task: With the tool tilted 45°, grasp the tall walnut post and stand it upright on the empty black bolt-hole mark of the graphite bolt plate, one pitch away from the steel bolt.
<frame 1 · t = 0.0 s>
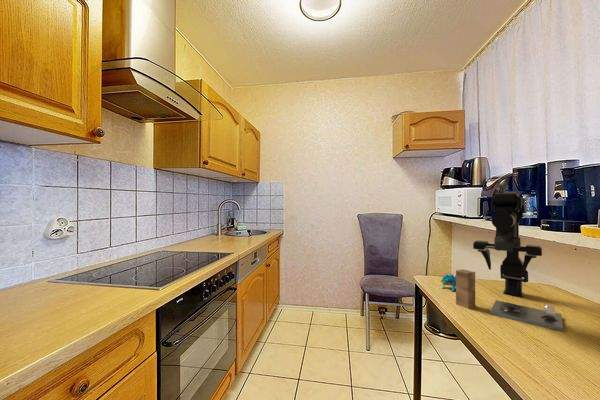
hand: (505, 271, 91), 15 cm above the table, tool pointing down, fingers open, 9 cm apart
teal bumpy cluster: (453, 290, 117), on the table
post: (465, 305, 98), on the table
bolt plate: (525, 315, 89), on the table
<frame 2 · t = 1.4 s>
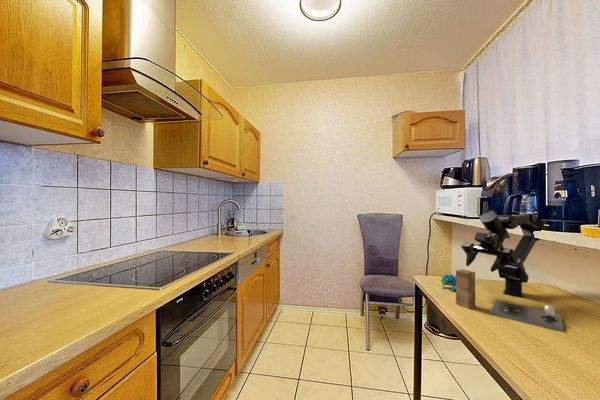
hand: (478, 268, 102), 13 cm above the table, tool tilted 45°, fingers open, 9 cm apart
nothing on the table moved.
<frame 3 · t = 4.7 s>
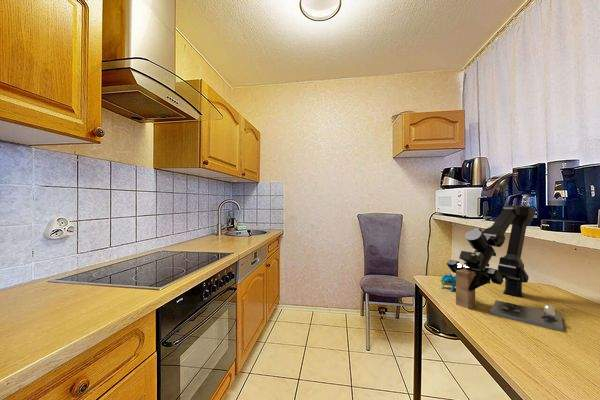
hand: (463, 288, 98), 7 cm above the table, tool tilted 45°, fingers closed on post, 4 cm apart
post: (465, 305, 98), on the table, touching gripper
everything else where it was.
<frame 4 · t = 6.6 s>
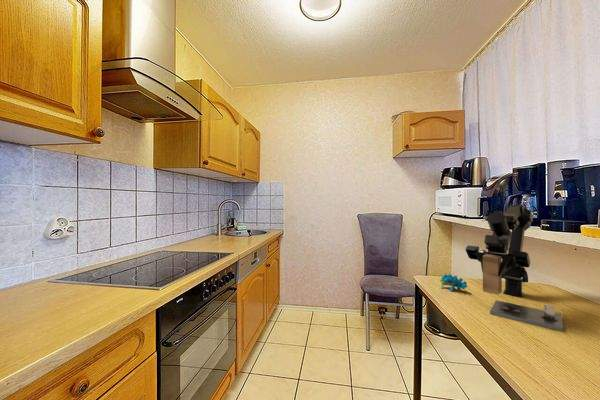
hand: (491, 274, 93), 13 cm above the table, tool tilted 45°, fingers closed on post, 4 cm apart
post: (492, 291, 94), point 7 cm above the table, touching gripper
everything else where it was.
when the fingers open (9 cm above the table, at t = 8.9 s): post drops 1 cm, resting on bolt plate.
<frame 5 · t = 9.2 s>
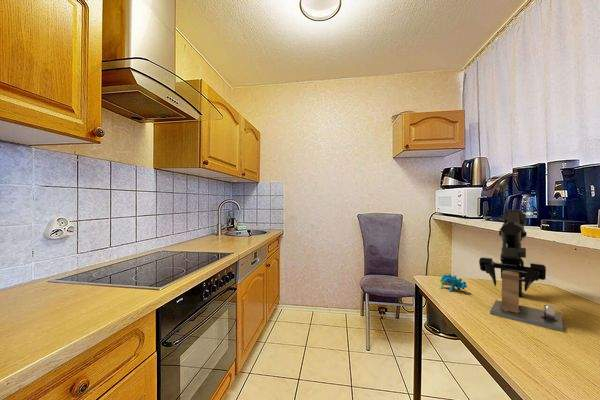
hand: (509, 287, 90), 9 cm above the table, tool tilted 45°, fingers open, 8 cm apart
post: (510, 309, 91), point 1 cm above the table, touching bolt plate
everything else where it was.
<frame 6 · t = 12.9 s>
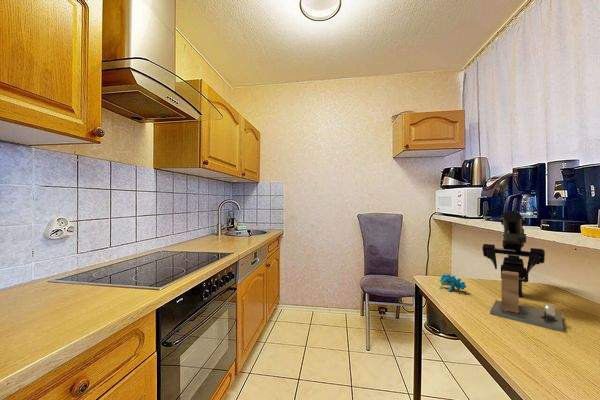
hand: (511, 270, 97), 14 cm above the table, tool tilted 45°, fingers open, 9 cm apart
at the end: post 0.0 cm from the target spot on the bolt plate, point 1.3 cm above the bolt plate's base; post tilted 0°; the gripper is holding nothing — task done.
